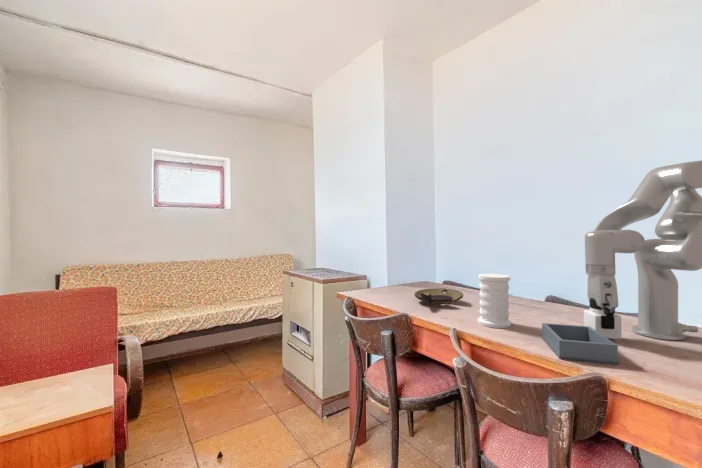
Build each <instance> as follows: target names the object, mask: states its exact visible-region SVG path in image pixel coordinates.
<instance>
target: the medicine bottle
mask: <svg viewBox="0 0 702 468" xmlns="http://www.w3.org/2000/svg"><path fill="white" fill-rule="evenodd" d="M589 301H590V302H589ZM588 302H589V305H590V307H589V309H586V310H585V309H584V310H583V326H590V327H591V328H593V329H594V330H596V331H597V332H599V333H600V334H602V335H603V336H605V337H606V338H608V339H609V340H611V339H612V340H613V339H615V340H618V339H619V340H621V339H622V316H621V315H619V314H617V313H614V314H615V316H614V325H615V328H614V329H603V328H602V327H601V315H602V311H601V307H599V306H598V305H597V303H596V301H595V300H594V299H593V298H590V299H589V300H588ZM603 305H604V306H609V305H608V304H603ZM606 310H607V308H605V311H606Z"/></svg>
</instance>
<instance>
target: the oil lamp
mask: <svg viewBox="0 0 702 468" xmlns="http://www.w3.org/2000/svg"><path fill="white" fill-rule="evenodd" d="M414 297H415V298H416V299H418V300H420V301H421V302H424V303H426V305H429V306H430V305H434V306H435V305H437V306H438V305H439V306H440V305H441V306H442V305H447V304H451V303H453V302H456V301H460V300H461V299H463V298H464V292H462V291H461V290H460V291H459V290H456V289H452V288H443V287H441V288H439V287H437V288H436V287H435V288H423V289H420V290H417V291H415V293H414Z"/></svg>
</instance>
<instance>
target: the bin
mask: <svg viewBox="0 0 702 468" xmlns="http://www.w3.org/2000/svg"><path fill="white" fill-rule="evenodd" d="M541 339H542V341H544V343H545V344H546V345H547V346H548V348H550V350H551V351H552V352H553V353H554V354H555V356H556V357H557V358H558V359H559V360H567V361H576V362H586V363H595V364H596V363H598V364H607V365H615V366H618V365H619V364H618V363H619V361H618V359H619V358H618V357H619V356H618V355H619V353H618V351H619V350H618V349H619V345H617V344H616V343H615V342H613V341H612V340H611V339H608V338H606V337H605V336H603V335H602V334H600V333H599V332H597V331H596V330H594V329H593V328H591V327H590V326H584V325H577V324H576V325H575V324H562V323H546V322H541Z"/></svg>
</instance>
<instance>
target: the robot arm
mask: <svg viewBox="0 0 702 468" xmlns="http://www.w3.org/2000/svg"><path fill="white" fill-rule="evenodd" d="M696 189H702V160H695V161H688V162H680V163H675V164H670V165H664V166H659V167H655V168H654V169H651V170H650V171H648V173H646V175H645V177H644V178H643V179H642V180H641V182H640V184H639V185H638V187H637V188H636V189H635V191H634V192H633V194H632V195H631V197H630V198H629V199H628V200H627V201H626V202H625V203H623V204H622V205H619V206H618V207H616V208H615V209H613V210H612V211H610V213H608V214H607V215H605V216H604V217H603V218H602V219H601V220H600V221H599V222H598V224H597V225H596V227H595V228H594V229H593V230H592V231H588V232H586V233H585V234H584V255H585V257H584V258H585V261H584V263H585V274H586V275H587V290H586V291H587V299H588V302H589V303H590V301H589V299H590V298H593V299H594V300H595V301H596V303H597V305H598V306H599V307H601V311H602V315H601V327H602V328H603V329H614V328H615V325H614V316H615V314H616V309H617V308H619V296H618V286H617V281H616V277H615V276H616V275H617V274H616V254H633V255H634V260H635V263H636V267H637V280H638V281H637V290H638V291H637V292H638V293H637V304H638V305H637V308H638V309H637V311H638V312H637V315H638V316H637V317H638V318H637V325H633V326H632V327H631V330H632V332H634V333H635V334H638V335H641V336H645V337H647V338H648V337H649V338H652V339H659V340H665V341H667V340H668V341H683V340H685V339H686V334H685V333H686V332H689V333H698V332H699V328H698V326H696V325H687V324H683V323H681V322H679V282H678V279H677V277H676V275H675V273H674V272H673V270H677V271H687V272H689V271H690V272H693V271H694V272H696V271H699V270H702V195H701V194H699V192H698V191H697V190H696ZM669 198H670V200H669ZM668 200H669V203H668V205H667V206H666V209H665V210H664V212H663V213H662V215H661V216H660V218H659V219H658V221H657V223H656V225H655V228H654V234H655V235H656V236H657V238H649V239H645V237H644V236H643V235H642V234H641V233H640V232H638V231H636V230H632V229H624V228H626V227H627V226H630V225H631V224H634V223H637V222H641V221H643V220H647V219H649V218H652V217H655V216H656V215H657V214H659V213H660V212H661V210H662V209H663V207H664V206H665V204H666V203H667V201H668ZM603 304H608V305H609V306H604V305H603ZM589 308H590V304H589ZM605 308H607V310H606V311H605Z"/></svg>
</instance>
